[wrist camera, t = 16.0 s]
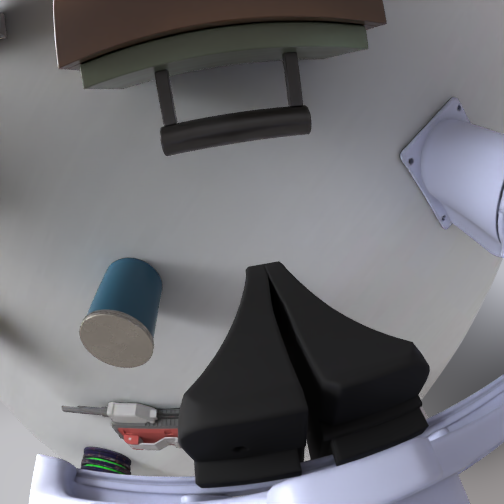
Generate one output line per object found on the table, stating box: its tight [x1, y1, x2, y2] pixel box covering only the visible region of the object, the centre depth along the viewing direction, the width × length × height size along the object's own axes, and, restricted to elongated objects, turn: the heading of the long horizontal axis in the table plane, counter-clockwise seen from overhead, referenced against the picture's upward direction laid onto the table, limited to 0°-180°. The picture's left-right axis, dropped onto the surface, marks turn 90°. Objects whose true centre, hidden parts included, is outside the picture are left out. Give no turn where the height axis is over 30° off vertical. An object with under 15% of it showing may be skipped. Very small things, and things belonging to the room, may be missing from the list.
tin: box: [79, 258, 162, 368], centre depth 19 cm, size 5×5×6 cm
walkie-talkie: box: [61, 402, 181, 450], centre depth 30 cm, size 9×4×20 cm
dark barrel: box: [81, 447, 131, 475], centre depth 34 cm, size 10×10×15 cm
